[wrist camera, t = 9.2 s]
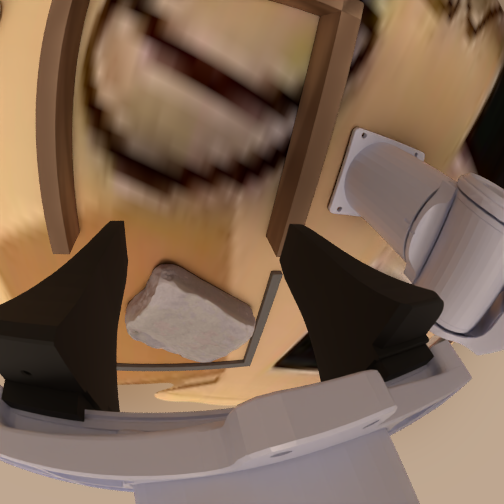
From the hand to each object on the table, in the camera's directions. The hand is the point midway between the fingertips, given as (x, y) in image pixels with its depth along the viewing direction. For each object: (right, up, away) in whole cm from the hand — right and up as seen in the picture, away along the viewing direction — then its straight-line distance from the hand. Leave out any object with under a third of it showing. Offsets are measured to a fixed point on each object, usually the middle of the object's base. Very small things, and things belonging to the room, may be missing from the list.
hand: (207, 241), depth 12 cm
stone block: (-5, -6, +16) cm, 18 cm away
